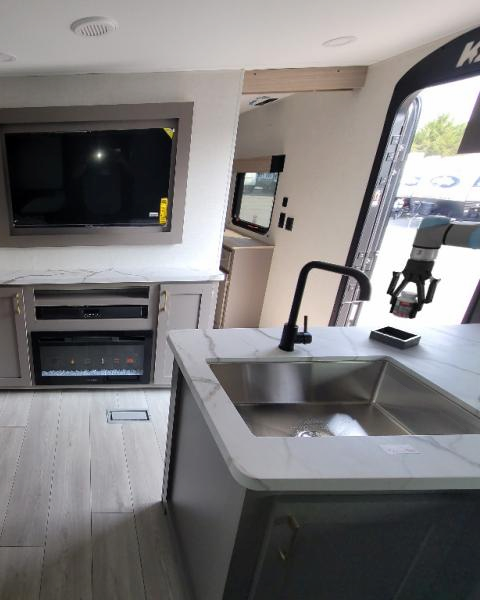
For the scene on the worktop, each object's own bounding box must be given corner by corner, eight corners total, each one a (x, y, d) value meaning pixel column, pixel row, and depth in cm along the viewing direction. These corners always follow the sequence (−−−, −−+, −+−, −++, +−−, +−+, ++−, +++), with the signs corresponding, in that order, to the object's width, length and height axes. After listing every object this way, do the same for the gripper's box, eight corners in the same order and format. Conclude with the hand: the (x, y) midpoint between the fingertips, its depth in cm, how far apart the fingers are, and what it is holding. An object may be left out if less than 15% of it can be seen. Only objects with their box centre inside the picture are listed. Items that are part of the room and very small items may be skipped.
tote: (418, 343, 131) (421, 335, 130) (402, 349, 127) (405, 341, 126) (384, 332, 141) (387, 325, 140) (368, 337, 137) (371, 330, 136)
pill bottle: (396, 317, 129) (404, 294, 125) (389, 312, 134) (396, 289, 130) (414, 319, 127) (423, 295, 124) (406, 313, 132) (414, 290, 129)
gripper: (385, 255, 129) (369, 308, 137) (450, 265, 113) (427, 326, 121) (396, 252, 132) (379, 305, 140) (461, 263, 115) (438, 322, 123)
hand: (401, 315), depth 130 cm, fingers closed on pill bottle, 6 cm apart
